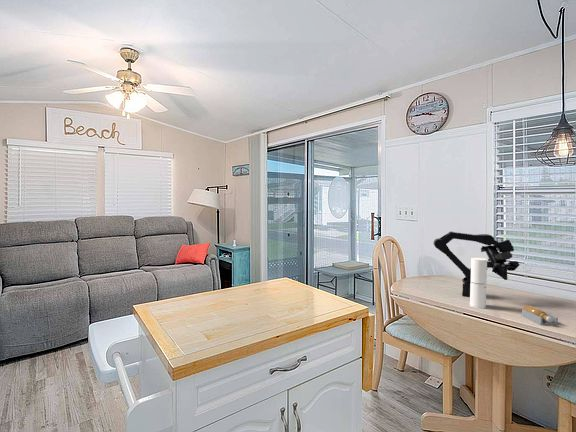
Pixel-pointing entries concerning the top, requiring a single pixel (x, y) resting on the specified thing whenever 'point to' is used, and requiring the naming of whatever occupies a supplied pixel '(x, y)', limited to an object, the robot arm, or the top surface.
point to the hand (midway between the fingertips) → (506, 279)
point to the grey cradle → (539, 318)
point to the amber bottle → (538, 313)
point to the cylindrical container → (478, 282)
